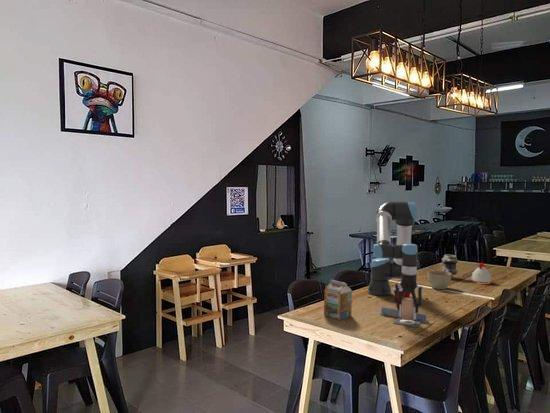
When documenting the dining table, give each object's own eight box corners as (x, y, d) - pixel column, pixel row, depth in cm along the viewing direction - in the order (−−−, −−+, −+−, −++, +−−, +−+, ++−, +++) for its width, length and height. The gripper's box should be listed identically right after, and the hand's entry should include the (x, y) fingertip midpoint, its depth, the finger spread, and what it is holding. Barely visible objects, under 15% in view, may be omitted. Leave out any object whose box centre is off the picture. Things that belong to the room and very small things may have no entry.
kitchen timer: (467, 282, 321) (468, 262, 320) (475, 279, 330) (476, 260, 329) (486, 285, 311) (487, 265, 310) (494, 282, 320) (495, 263, 319)
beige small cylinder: (399, 318, 221) (400, 299, 220) (403, 315, 226) (403, 297, 226) (412, 321, 217) (412, 301, 217) (415, 317, 223) (416, 299, 223)
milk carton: (323, 315, 232) (324, 281, 231) (335, 311, 240) (336, 278, 239) (339, 320, 225) (340, 284, 224) (351, 316, 232) (352, 281, 231)
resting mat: (392, 323, 221) (392, 322, 221) (398, 317, 230) (398, 317, 230) (416, 327, 214) (416, 326, 214) (421, 322, 224) (421, 321, 224)
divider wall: (380, 314, 235) (380, 307, 235) (382, 313, 238) (382, 306, 238) (426, 322, 222) (426, 315, 222) (427, 321, 225) (427, 313, 225)
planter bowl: (451, 286, 304) (452, 271, 304) (450, 291, 290) (451, 276, 289) (427, 284, 311) (428, 269, 311) (425, 289, 296) (426, 273, 296)
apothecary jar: (459, 280, 327) (460, 256, 326) (442, 279, 328) (443, 256, 328) (455, 276, 338) (455, 254, 338) (439, 276, 340) (439, 253, 339)
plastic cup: (397, 304, 256) (398, 284, 256) (414, 308, 249) (415, 288, 248) (388, 308, 249) (388, 287, 248) (405, 312, 241) (406, 291, 240)
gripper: (388, 272, 223) (387, 316, 224) (426, 277, 213) (425, 322, 214) (392, 270, 229) (391, 312, 230) (430, 274, 219) (428, 319, 220)
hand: (407, 317), depth 222 cm, fingers closed on beige small cylinder, 6 cm apart
